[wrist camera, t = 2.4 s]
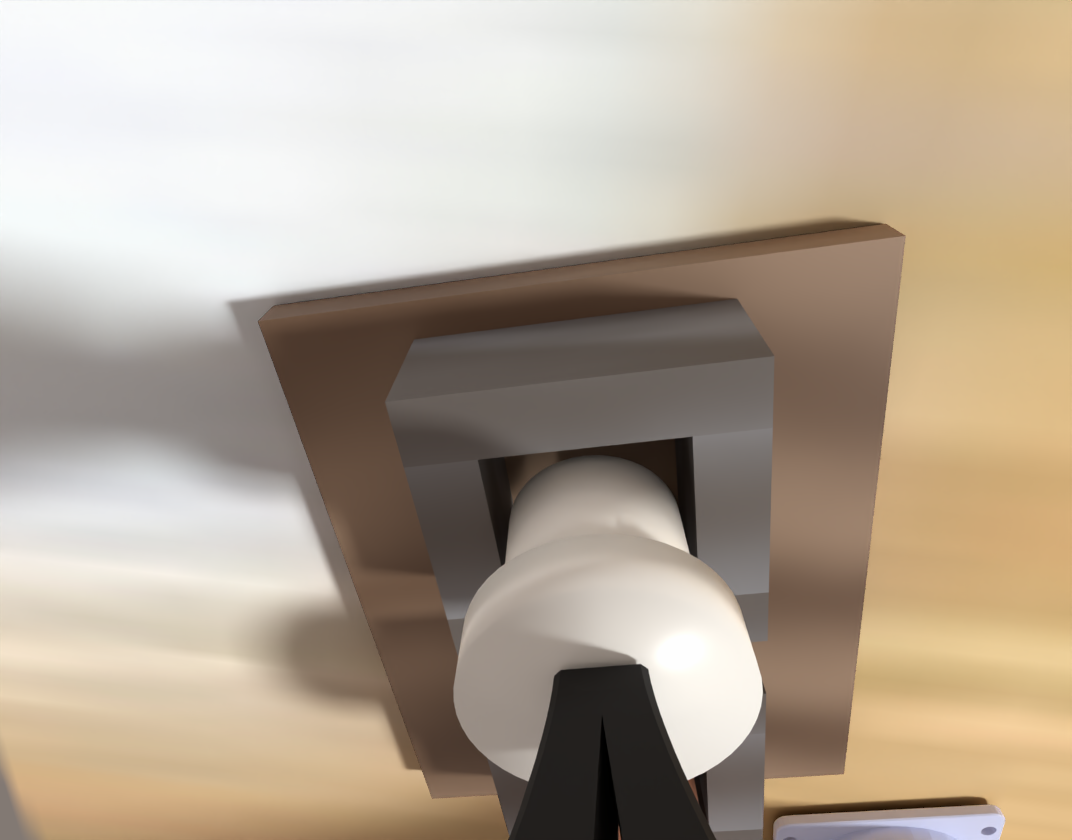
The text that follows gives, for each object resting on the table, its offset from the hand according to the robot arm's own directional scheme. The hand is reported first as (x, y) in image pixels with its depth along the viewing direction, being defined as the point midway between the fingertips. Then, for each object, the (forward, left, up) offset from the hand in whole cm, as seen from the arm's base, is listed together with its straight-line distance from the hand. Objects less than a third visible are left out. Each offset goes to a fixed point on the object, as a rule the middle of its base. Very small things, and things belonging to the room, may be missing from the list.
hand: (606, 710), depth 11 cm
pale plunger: (0, 0, -4) cm, 4 cm away
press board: (-5, 0, -8) cm, 9 cm away
